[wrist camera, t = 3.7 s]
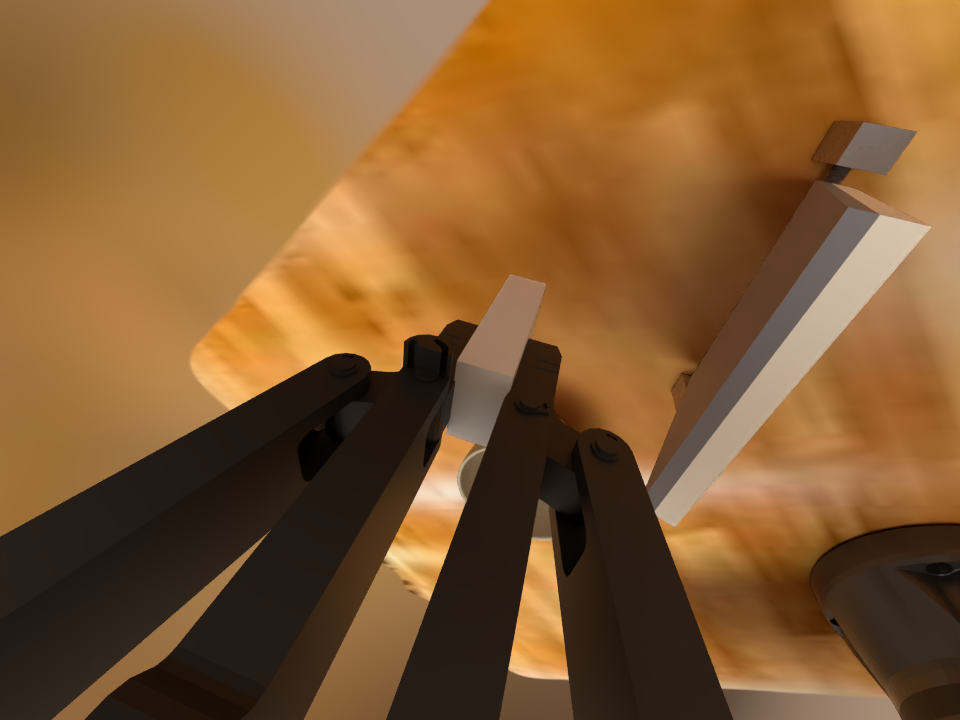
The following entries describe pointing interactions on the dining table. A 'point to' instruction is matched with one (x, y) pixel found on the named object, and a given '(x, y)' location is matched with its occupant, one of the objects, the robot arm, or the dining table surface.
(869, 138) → the hinge bracket
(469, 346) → the robot arm
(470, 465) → the flower pot
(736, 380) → the tile
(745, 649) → the dining table surface
